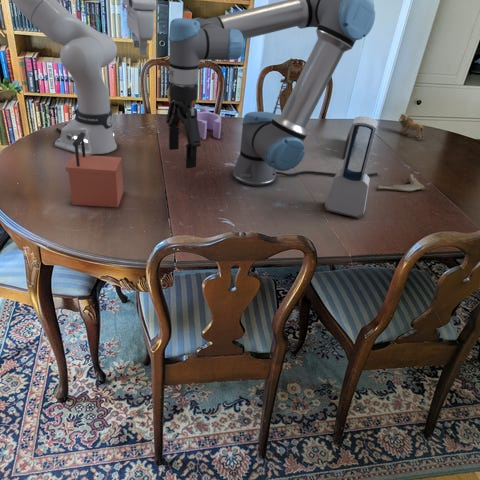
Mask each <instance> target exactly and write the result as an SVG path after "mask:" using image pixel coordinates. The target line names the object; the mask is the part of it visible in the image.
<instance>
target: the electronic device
mask: <svg viewBox="0 0 480 480" xmlns="http://www.w3.org/2000/svg"><path fill="white" fill-rule="evenodd" d="M352 124H353V125H352ZM352 124H351V127H352V129H351V128H350V129H351V133H350V138H349V142H348V146H347V151H346V155H345V158H344V161H343V164H342V168H341V169H338V170H337V171H336V173H335V174H336V175H335V176H334V177H333V180H332V182H331V186H330V188H329V192H328V195H327V197H326V201H325V203H324V208H325V210H326V211H327V212H330V213H334V214H339V215H343V216H347V217H350V218H351V217H352V218H356V219H360V218H362V217H363V216H364V215H365V211H366V206H367V201H368V194H369V187H370V181H371V180H370V179H371V177H370V176H368V175H367V174H368V173H366V170H367V167H368V163H369V160H370V159H369V158H370V155H371V151H372V147H373V144H374V140H375V136H376V133H377V129H378V124H379V121H378V120H376V119H375V118H372V117H370V116H361V115H359V116H356V117H355V118H354V120H353V122H352ZM357 127H359V128H360V127H362V128H367V129H369V130H370V133H369V138H368V141H367V145H366V150H365V154H364V157H363V161H362V164H361V169H360V171H354V170H351V169H349V166H350V162H351V161H350V160H351V156H352V153H353V148H354V146H353V144H354V145H355V143H354V140H355V136H356V131H357ZM356 137H357V136H356ZM355 141H356V140H355Z"/></svg>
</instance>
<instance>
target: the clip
mask: <svg viewBox="0 0 480 480" xmlns="http://www.w3.org/2000/svg"><path fill="white" fill-rule="evenodd" d="M192 108H194V107H193V106H192ZM197 120H198V127H199V134H200V139H201V140H206V139H207V130H211V131H213V132H212V137H213V138H215V139H218V140H219V139H221V131H222V116H221V115H219V114H217V113H215V112H211V111H210V109H209V108H206V107H203V106H200V107H199V111H197Z"/></svg>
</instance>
